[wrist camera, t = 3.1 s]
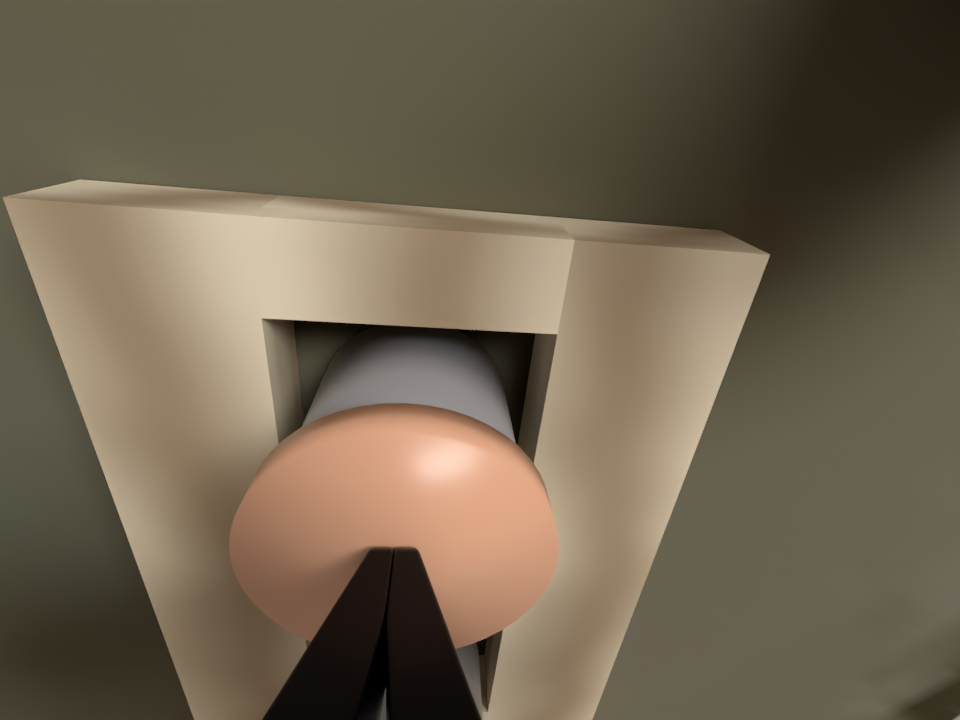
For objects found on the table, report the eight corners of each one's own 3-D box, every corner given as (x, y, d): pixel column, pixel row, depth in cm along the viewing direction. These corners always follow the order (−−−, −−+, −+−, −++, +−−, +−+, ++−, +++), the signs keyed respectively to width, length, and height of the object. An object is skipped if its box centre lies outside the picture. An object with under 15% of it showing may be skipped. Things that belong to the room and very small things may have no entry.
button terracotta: (313, 480, 14) (252, 659, 9) (295, 297, 11) (199, 426, 7) (506, 484, 14) (534, 655, 10) (533, 311, 12) (587, 439, 7)
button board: (256, 791, 23) (241, 847, 21) (80, 179, 10) (2, 197, 8) (541, 780, 25) (548, 832, 23) (720, 230, 11) (770, 254, 10)
